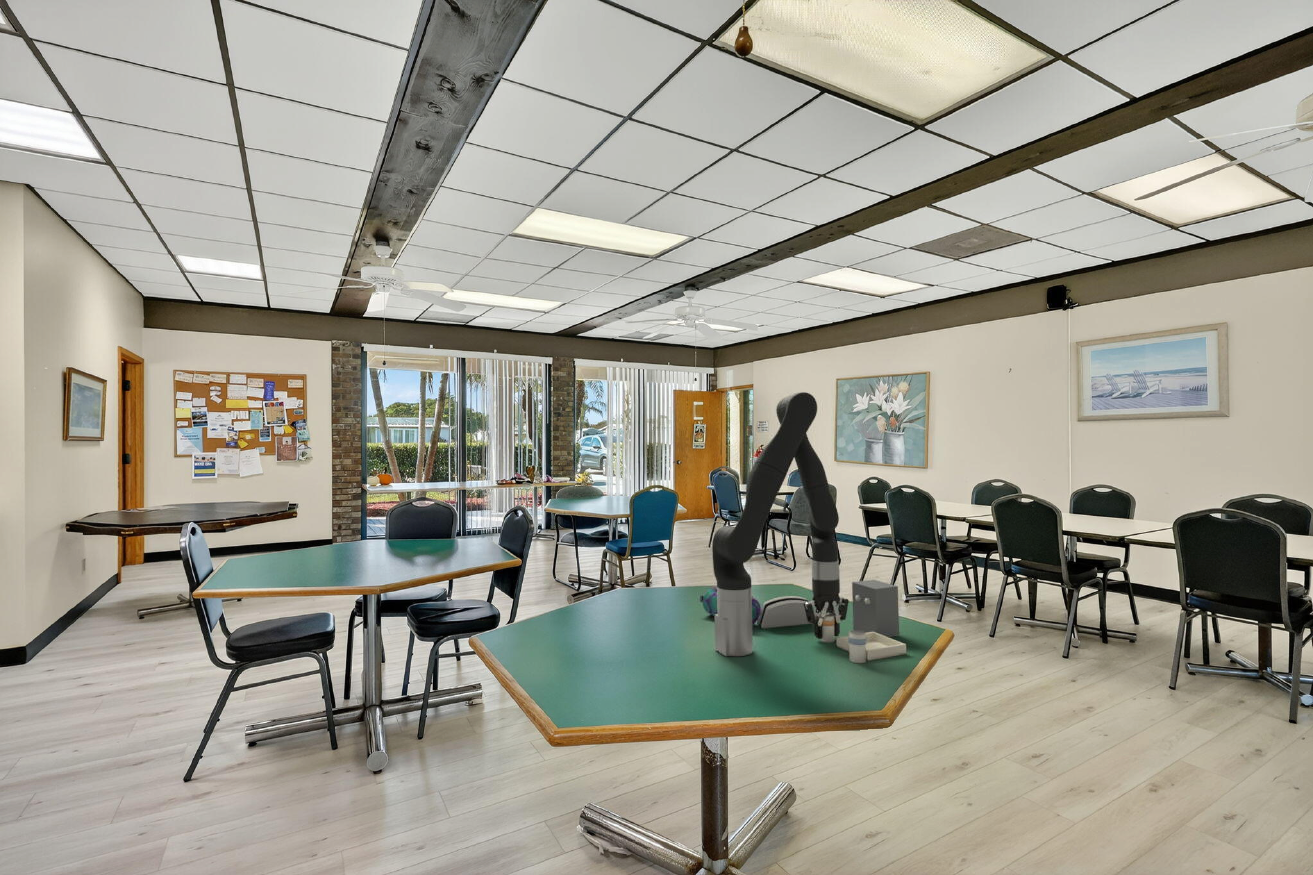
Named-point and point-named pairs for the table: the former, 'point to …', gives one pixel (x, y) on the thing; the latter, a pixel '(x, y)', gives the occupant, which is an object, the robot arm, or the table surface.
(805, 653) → the table surface
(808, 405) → the robot arm
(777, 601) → the white slotted rounded block
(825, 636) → the white orange rounded cylinder
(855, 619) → the control box
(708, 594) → the pencil case
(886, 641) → the parts tray
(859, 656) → the blue-band fuse
